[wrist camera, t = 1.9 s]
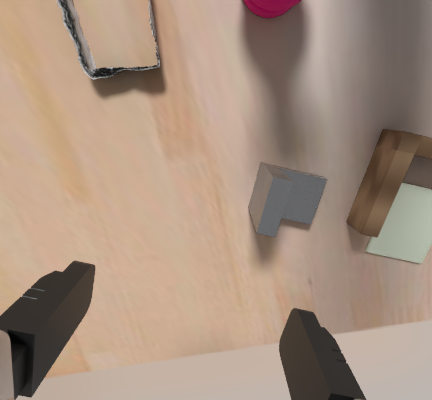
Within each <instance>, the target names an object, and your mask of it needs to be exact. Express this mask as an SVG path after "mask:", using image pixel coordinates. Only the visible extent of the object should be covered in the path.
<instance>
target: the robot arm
mask: <svg viewBox="0 0 432 400" xmlns="http://www.w3.org/2000/svg"><path fill="white" fill-rule="evenodd" d="M94 275H95V265H93V264H88V263H84V262H79V261H73V262H72V263H71V264H70V265H69V266H68V267H67V268H66V269H65V270H64V271H63V272H59V271H54V272H52V273H50V274H47V275H45V276H43V277H41V278H40V279H39V280H38V281H37V282H36V283H35V284H34V285H33V286H32V287H31V289H28V290H27V291H26V292H25V293H24V294H23V296H22V297H20V298H19V299H18V300H17V301H16V302H15V303H14V304H13V305H11V306H10V307H9V308H8V309H7V310H6V311H5V312H4V313H3V314H2V315H1V316H0V400H15V399H16V398H17V397H18V395H21V396H26V397H32V396H33V394H34V393H35V391H36V389H37V388H38V386H39V385H40V383H41V382H42V380H43V379H44V377H45V376H46V374H47V373H48V371H49V370H50V368H51V367H52V365H53V364H54V362H55V360H56V359H57V357H58V356H59V354H60V353H61V351H62V350H63V348H64V347H65V345H66V344H67V342H68V341H69V339H70V337H71V336H72V334H73V333H74V331H75V330H76V328H77V327H78V325H79V324H80V322H81V321H82V319H83V317H84V316H85V314H86V312H87V310H88V308H89V305H90V302H91V298H92V291H93V283H94ZM279 352H280V357H281V361H282V365H283V368H284V372H285V376H286V380H287V384H288V388H289V392H290V396H291V400H366V398H365V396H364V394H363V392H362V391H361V389H360V387H359V385H358V383H357V381H356V379H355V377H354V375H353V373H352V371H351V369H350V367H349V366H348V364H347V363H346V360H345V358H344V356H343V354H342V353H341V350H340V348H339V346H338V344H337V342H336V340H335V339H334V338H333V336H332V335H331V334H330V333H329V332H328V331H327V330H326V329H325V328H323V327H321V326H320V324H319V322H318V320H317V318H316V316H315V314H314V313H313V312H311V311H306V310H301V309H296V308H294V309H292V311H291V313H290V315H289V318H288V320H287V323H286V325H285V328H284V330H283V333H282V336H281V338H280V345H279Z"/></svg>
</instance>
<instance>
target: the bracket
mask: <svg viewBox="0 0 432 400" xmlns="http://www.w3.org/2000/svg"><path fill="white" fill-rule="evenodd" d="M326 181H327V179H326V178H324V177H323V176H318V175H314V174H310V173H305V172H301V171H297V170H292V169H288V168H283V167H279V166H275V165H270V164H266V163H262V162H261V163H260V167H259V170H258V174H257V178H256V181H255V185H254V188H253V192H252V196H251V199H250V203H249V206H248V208H249V211H250V214H251V217H252V221H253V224H254V227H255V230H256V233H258V234H263V235H268V236H273V237H276V234H277V231H278V227H279V224H280V221H281V218H283V219H288V220H292V221H297V222H301V223H306V224H311V223H312V220H313V218H314V215H315V212H316V209H317V206H318V204H319V201H320V198H321V195H322V192H323V190H324V187H325V184H326Z"/></svg>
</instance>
